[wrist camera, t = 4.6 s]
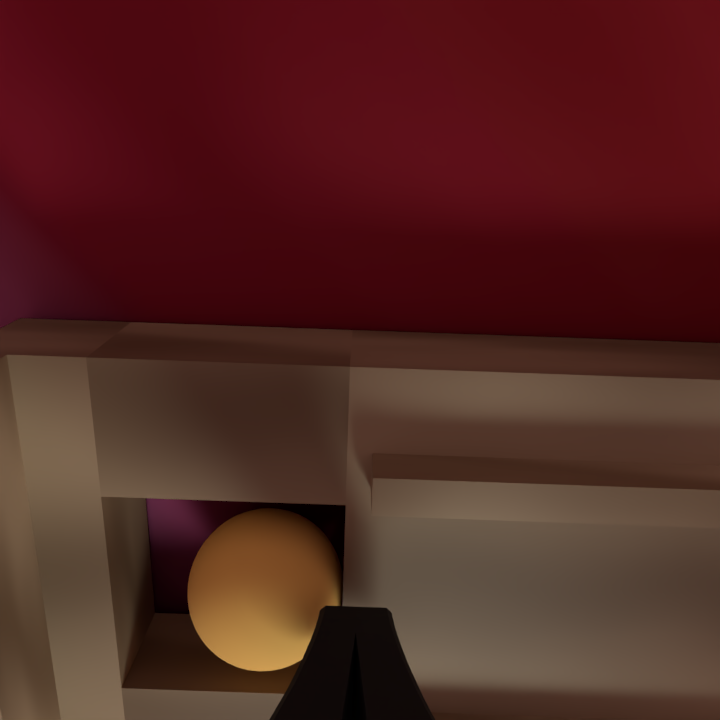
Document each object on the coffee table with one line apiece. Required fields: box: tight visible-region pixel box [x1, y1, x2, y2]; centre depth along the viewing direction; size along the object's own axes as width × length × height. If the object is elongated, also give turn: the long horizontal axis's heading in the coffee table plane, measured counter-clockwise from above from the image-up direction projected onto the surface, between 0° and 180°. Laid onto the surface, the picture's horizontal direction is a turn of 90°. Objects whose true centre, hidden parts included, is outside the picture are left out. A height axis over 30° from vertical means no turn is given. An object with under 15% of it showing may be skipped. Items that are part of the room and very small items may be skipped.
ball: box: [187, 508, 343, 671], centre depth 15 cm, size 4×4×4 cm
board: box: [0, 318, 720, 720], centre depth 14 cm, size 11×18×4 cm, turn 88°
